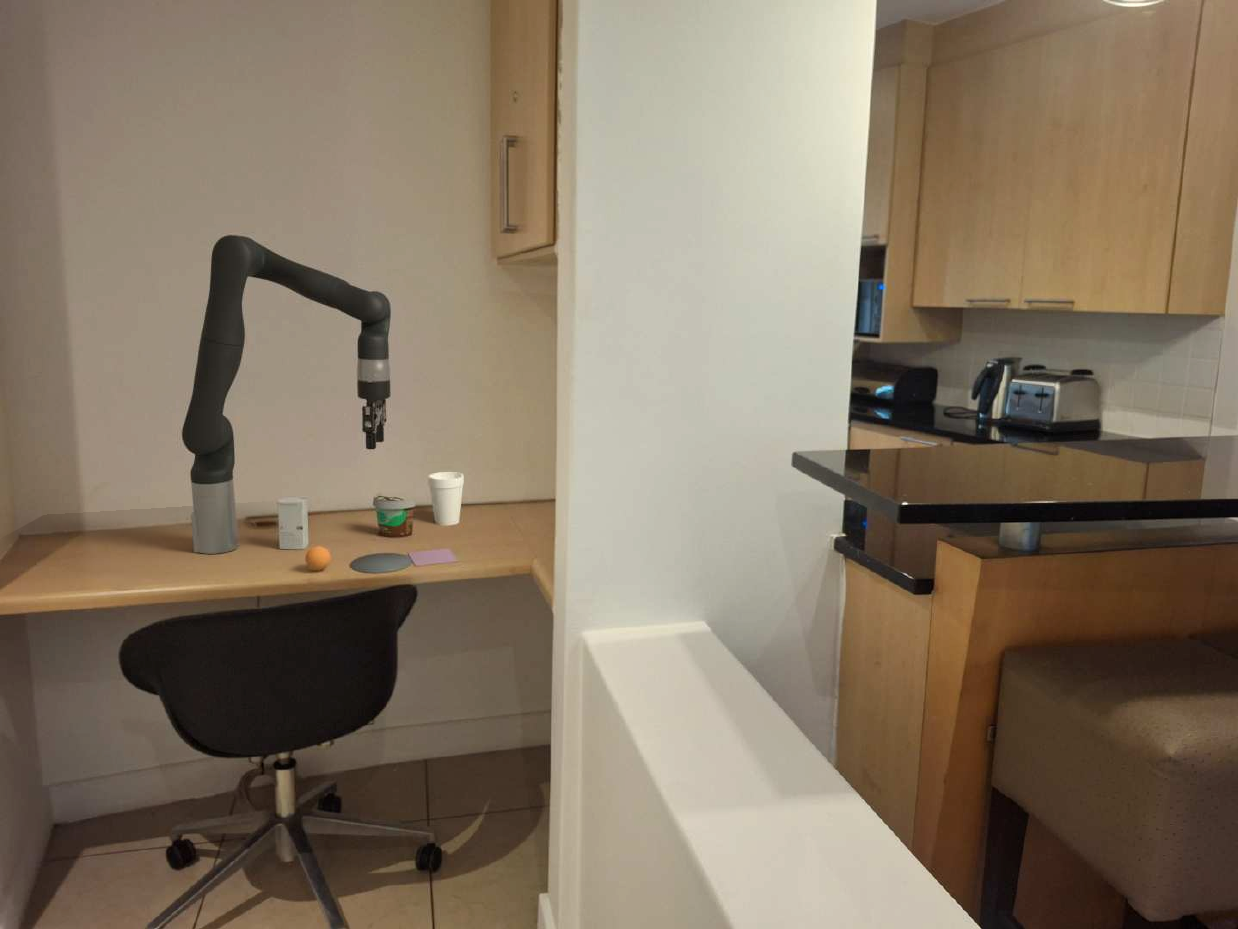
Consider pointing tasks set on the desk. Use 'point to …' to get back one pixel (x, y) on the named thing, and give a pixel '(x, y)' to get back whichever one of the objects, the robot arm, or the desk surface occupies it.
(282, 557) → the desk surface
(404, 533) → the food container
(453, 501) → the foam cup
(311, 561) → the ball
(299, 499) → the white box
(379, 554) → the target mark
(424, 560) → the far mark
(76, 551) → the desk surface
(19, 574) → the desk surface
